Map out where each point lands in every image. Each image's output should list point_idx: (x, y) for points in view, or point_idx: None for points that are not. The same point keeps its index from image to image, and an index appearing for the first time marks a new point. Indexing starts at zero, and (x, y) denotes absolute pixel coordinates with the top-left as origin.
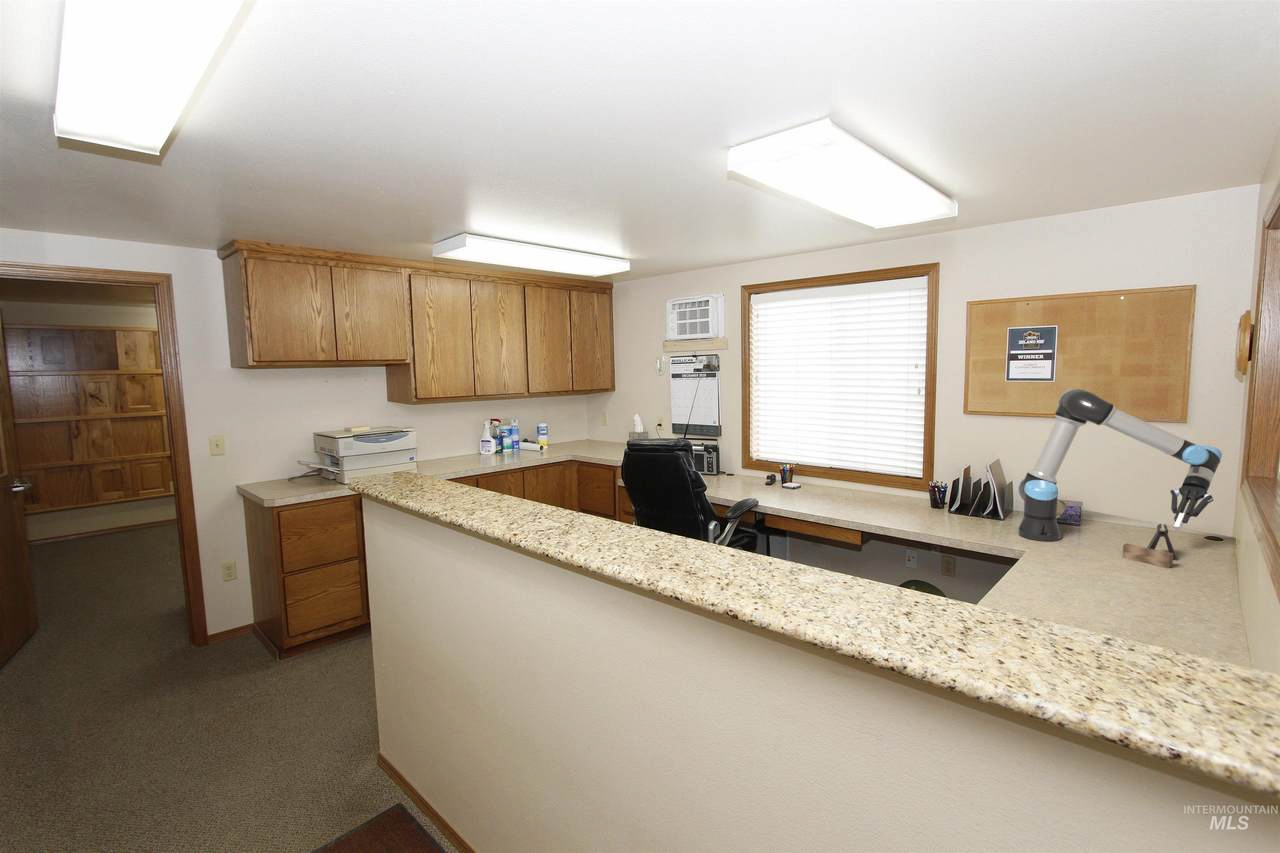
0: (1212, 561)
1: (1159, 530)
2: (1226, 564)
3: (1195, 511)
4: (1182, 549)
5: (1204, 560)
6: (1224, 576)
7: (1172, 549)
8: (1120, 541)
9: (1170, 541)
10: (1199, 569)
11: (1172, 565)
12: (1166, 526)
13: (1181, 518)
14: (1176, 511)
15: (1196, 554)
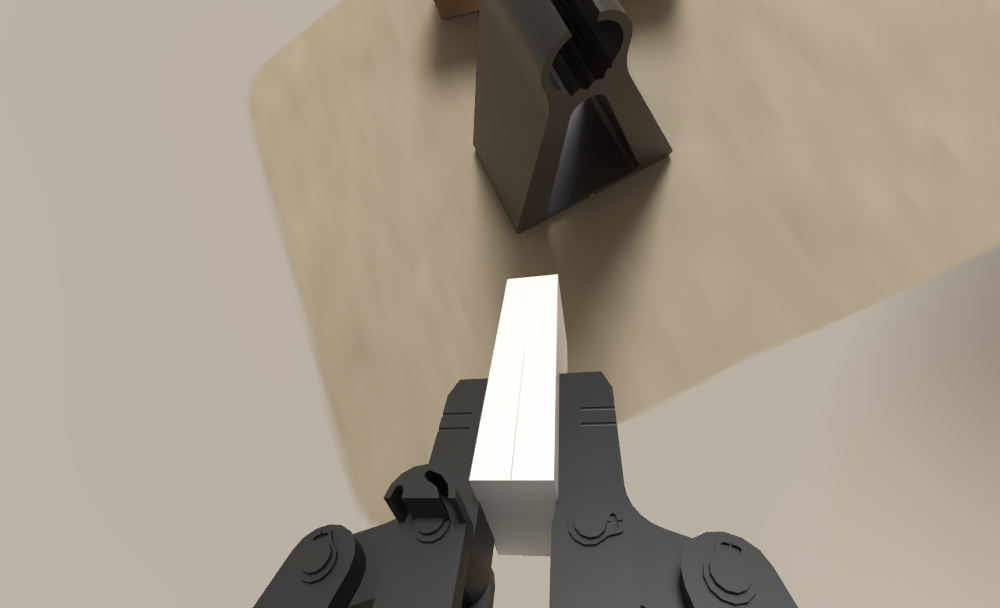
0: (362, 309)
1: (593, 44)
2: (305, 315)
3: (282, 589)
4: None
5: (393, 290)
6: (259, 99)
7: (478, 91)
8: (949, 261)
9: (528, 165)
10: (353, 100)
11: (439, 11)
12: (525, 15)
13: (500, 377)
14: (642, 548)
15: None
